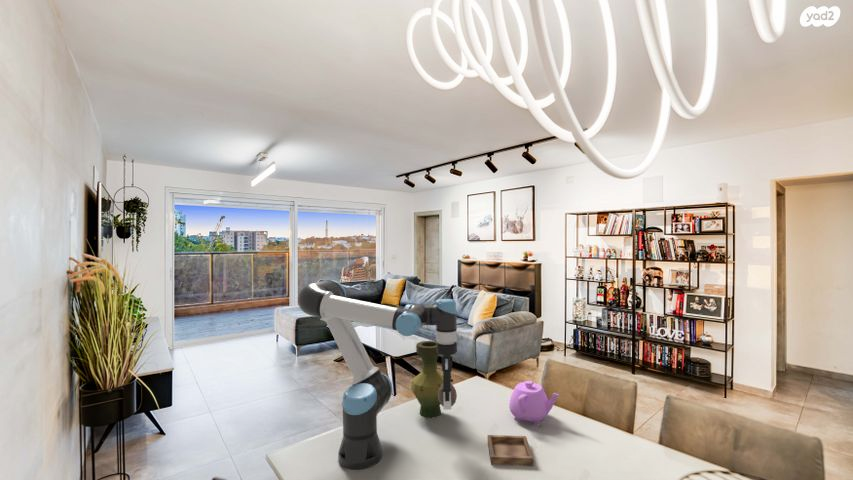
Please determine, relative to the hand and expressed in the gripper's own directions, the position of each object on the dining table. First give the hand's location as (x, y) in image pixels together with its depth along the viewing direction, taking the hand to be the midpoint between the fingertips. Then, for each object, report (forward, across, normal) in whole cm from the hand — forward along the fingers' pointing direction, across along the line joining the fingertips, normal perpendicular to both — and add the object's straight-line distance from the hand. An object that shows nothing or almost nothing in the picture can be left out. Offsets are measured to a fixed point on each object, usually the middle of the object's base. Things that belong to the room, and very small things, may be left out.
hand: (447, 404), depth 138 cm
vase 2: (0, 0, 0) cm, 0 cm away
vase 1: (+15, +25, +8) cm, 31 cm away
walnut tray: (+15, -4, -22) cm, 27 cm away
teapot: (+15, +21, -34) cm, 43 cm away
